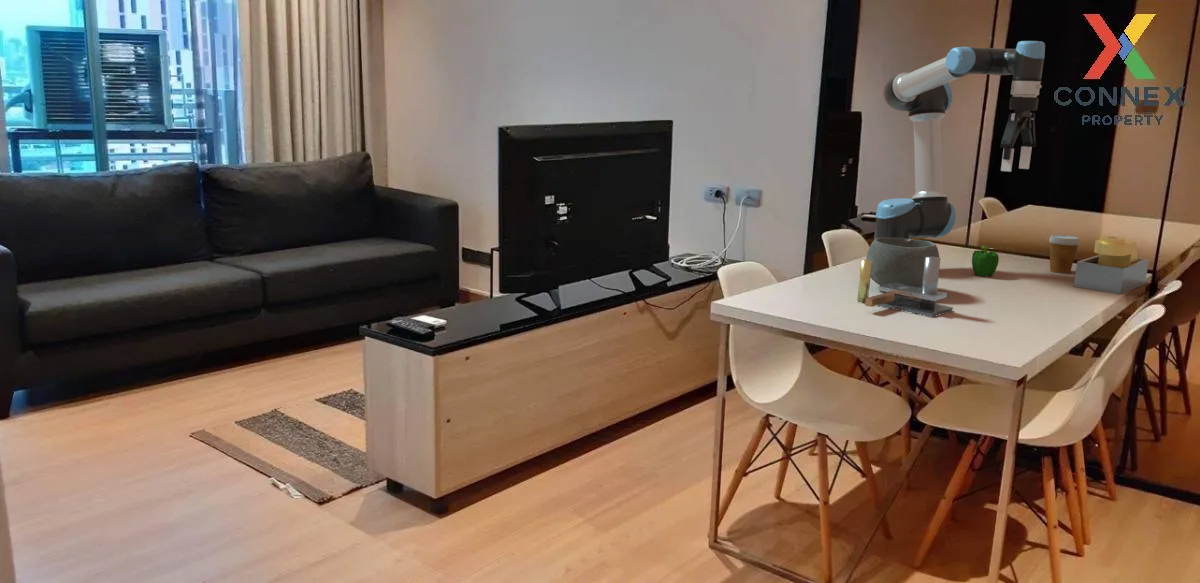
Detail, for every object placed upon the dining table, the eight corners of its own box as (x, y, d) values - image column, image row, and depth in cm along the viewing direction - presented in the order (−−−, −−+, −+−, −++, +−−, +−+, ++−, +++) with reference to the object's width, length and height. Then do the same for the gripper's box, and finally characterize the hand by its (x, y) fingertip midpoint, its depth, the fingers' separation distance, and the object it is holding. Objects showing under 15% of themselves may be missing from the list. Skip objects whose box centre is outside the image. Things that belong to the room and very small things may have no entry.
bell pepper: (984, 272, 313) (987, 243, 311) (1001, 277, 305) (1005, 247, 303) (963, 273, 310) (967, 243, 308) (980, 278, 303) (984, 248, 300)
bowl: (860, 293, 276) (865, 244, 273) (866, 280, 295) (870, 233, 292) (935, 301, 269) (941, 250, 266) (936, 287, 288) (942, 239, 285)
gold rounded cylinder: (855, 301, 266) (859, 260, 263) (860, 300, 268) (864, 259, 265) (864, 303, 264) (868, 262, 261) (870, 302, 266) (874, 260, 263)
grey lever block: (854, 310, 255) (859, 256, 252) (894, 298, 270) (900, 248, 267) (913, 323, 243) (919, 267, 240) (952, 310, 258) (958, 257, 255)
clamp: (1115, 292, 288) (1123, 241, 285) (1084, 286, 295) (1091, 237, 291) (1137, 283, 302) (1145, 235, 298) (1106, 278, 308) (1114, 231, 305)
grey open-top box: (1073, 286, 294) (1077, 261, 293) (1100, 276, 311) (1103, 253, 309) (1120, 294, 285) (1124, 268, 283) (1145, 284, 301) (1149, 259, 299)
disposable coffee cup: (1081, 272, 317) (1086, 238, 314) (1065, 275, 311) (1070, 240, 309) (1054, 267, 324) (1059, 233, 322) (1039, 270, 319) (1043, 235, 316)
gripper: (1021, 96, 258) (1011, 173, 262) (1053, 96, 275) (1043, 168, 280) (994, 95, 263) (985, 171, 268) (1027, 95, 280) (1018, 166, 285)
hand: (1015, 170), depth 274 cm, fingers open, 13 cm apart
